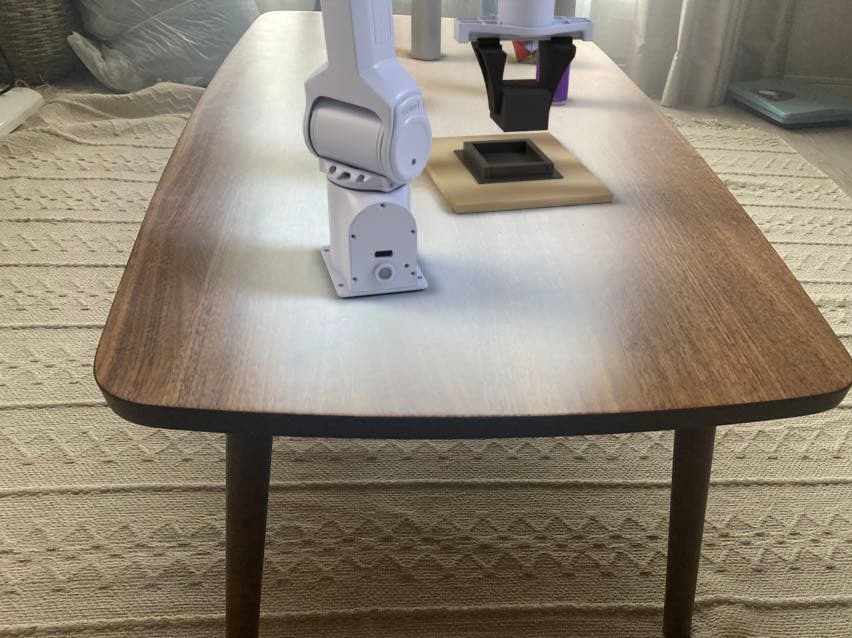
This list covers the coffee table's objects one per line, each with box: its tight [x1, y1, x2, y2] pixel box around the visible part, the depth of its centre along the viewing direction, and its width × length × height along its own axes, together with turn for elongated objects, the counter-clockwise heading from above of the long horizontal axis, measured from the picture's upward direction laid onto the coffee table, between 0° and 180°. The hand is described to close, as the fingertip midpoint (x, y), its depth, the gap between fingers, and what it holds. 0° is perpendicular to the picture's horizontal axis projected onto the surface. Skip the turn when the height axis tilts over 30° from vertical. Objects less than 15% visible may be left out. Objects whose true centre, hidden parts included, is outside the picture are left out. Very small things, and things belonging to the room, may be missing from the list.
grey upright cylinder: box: [410, 0, 443, 61], centre depth 142 cm, size 4×4×10 cm
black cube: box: [489, 78, 551, 133], centre depth 99 cm, size 5×5×4 cm
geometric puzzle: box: [511, 40, 538, 65], centre depth 145 cm, size 7×7×8 cm
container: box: [535, 0, 577, 107], centre depth 127 cm, size 5×5×15 cm
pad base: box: [424, 131, 614, 215], centre depth 107 cm, size 20×18×2 cm
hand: (519, 110), depth 100 cm, fingers closed on black cube, 5 cm apart
